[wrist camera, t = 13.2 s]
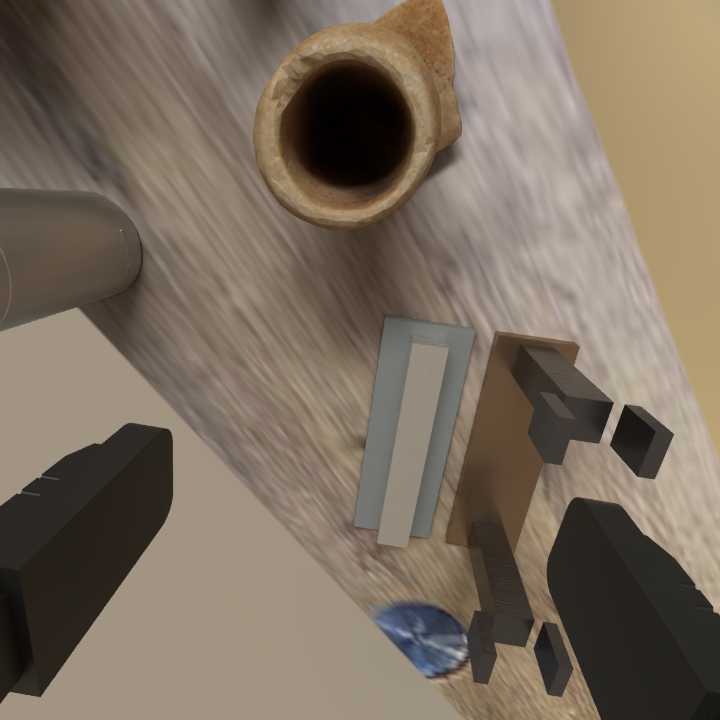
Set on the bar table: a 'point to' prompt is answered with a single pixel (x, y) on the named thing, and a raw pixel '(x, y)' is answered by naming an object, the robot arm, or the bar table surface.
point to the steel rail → (411, 437)
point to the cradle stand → (530, 482)
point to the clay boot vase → (359, 116)
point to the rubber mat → (386, 415)
